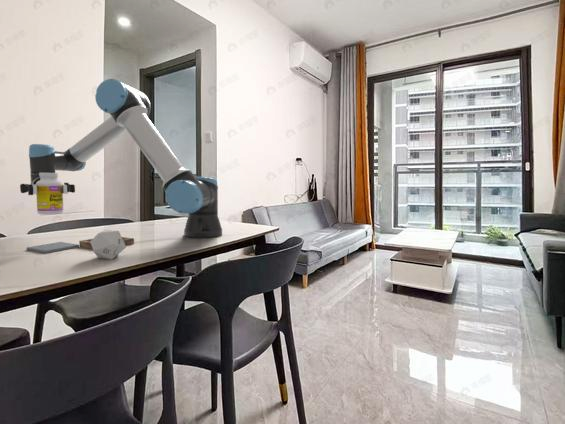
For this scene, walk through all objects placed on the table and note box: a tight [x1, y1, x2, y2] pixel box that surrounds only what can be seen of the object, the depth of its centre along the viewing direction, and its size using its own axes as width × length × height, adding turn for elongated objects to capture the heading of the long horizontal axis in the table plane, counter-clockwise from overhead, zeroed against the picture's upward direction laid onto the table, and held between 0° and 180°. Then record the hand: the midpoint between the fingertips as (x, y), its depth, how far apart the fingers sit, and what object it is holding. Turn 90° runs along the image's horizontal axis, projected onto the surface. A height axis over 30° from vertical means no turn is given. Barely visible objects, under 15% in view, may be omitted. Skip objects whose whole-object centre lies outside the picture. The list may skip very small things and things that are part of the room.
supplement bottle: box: [35, 172, 64, 215], centre depth 98 cm, size 7×7×13 cm
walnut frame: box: [78, 236, 135, 250], centre depth 105 cm, size 12×12×2 cm
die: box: [90, 229, 127, 260], centre depth 89 cm, size 8×9×10 cm
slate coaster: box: [26, 241, 80, 254], centre depth 99 cm, size 10×10×1 cm
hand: (50, 189), depth 94 cm, fingers closed on supplement bottle, 7 cm apart
